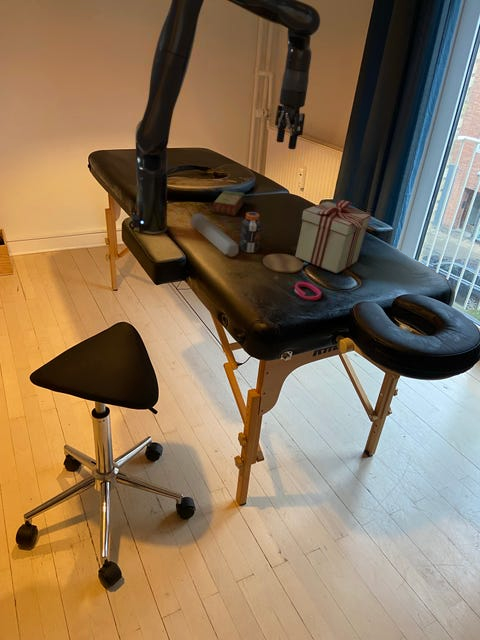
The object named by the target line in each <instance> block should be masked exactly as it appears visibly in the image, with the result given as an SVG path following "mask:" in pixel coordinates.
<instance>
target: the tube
mask: <svg viewBox="0 0 480 640" xmlns="http://www.w3.org/2000/svg"><path fill="white" fill-rule="evenodd" d="M190 226H191V228H193V229H195V230H196V231H197V232H198V233H199V234H200V235H202V236H203V237H204V238H205V239H206V240H208V241H209V242H210V244H212V245H213V246H214V247H215V248H217V249H218V250H219V251H220V252H221V253H222V254H223V255H225V256H226V257H228V258H232V257H235V256H237V254H238V253H239V243H237V242H236V241H235V240H233V239H232V238H231V237H230V236H229V235H227V234H226V233H225V232H224V231H222V230H221V229H220V228H219V227H217V226H216V225H215V224H214V223H213V222H211V221H210V220H208V219H207V218H206V216H205V215H204V214H202V213H201V212H199V213H194V214H193V215H192V217H191V218H190Z"/></svg>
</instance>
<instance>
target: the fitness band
mask: <svg viewBox="0 0 480 640" xmlns="http://www.w3.org/2000/svg"><path fill="white" fill-rule="evenodd" d="M300 287H304V288H307V289H310V290H311V291H313V292H314V293H315V294H316V295H313V296H310V295H309V296H308V295H307V293H306V292H305V291H304V290H303V289H301V288H300ZM293 292H294V293H295V294H297V295H298V296H299V297H301V298H302V299H304V300H307V301H317V300H320V299H321V297H322V290H320V289H319V288H318V287H317V286H315V285H314V284H312V283H310V282H304V281H299V282H296V283H295V285H294V290H293Z"/></svg>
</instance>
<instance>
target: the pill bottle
mask: <svg viewBox="0 0 480 640" xmlns="http://www.w3.org/2000/svg"><path fill="white" fill-rule="evenodd" d="M261 232H262V222H261V221H260V214H259V213H258V212H256V211H255V212H254V211H247V212H246V213H245V218H244V219H243V220H242V221H241V229H240V236H239V237H240V238H239V250H241V251H242V252H245V253H248V254H249V253H256V252H258V251H259V250H260V249H259V248H260V241H261Z"/></svg>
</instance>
